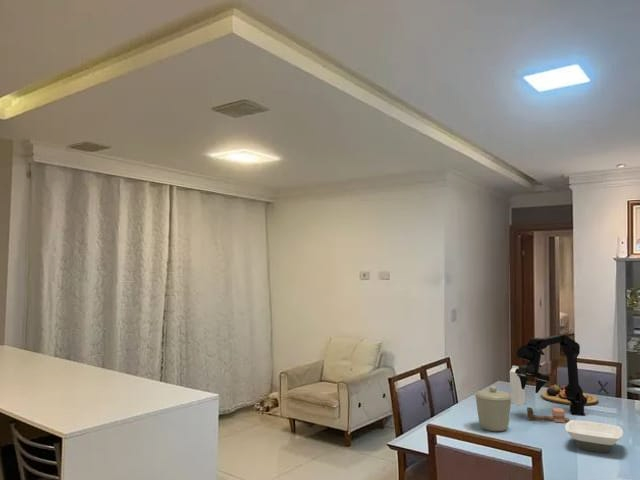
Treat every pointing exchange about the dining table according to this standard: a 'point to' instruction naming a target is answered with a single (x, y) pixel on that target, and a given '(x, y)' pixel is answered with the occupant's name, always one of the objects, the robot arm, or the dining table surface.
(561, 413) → the block
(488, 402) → the canister
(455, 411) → the dining table surface
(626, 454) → the dining table surface
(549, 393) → the wooden plate with food
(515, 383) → the milk
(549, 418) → the rail
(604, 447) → the bowl
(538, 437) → the dining table surface
